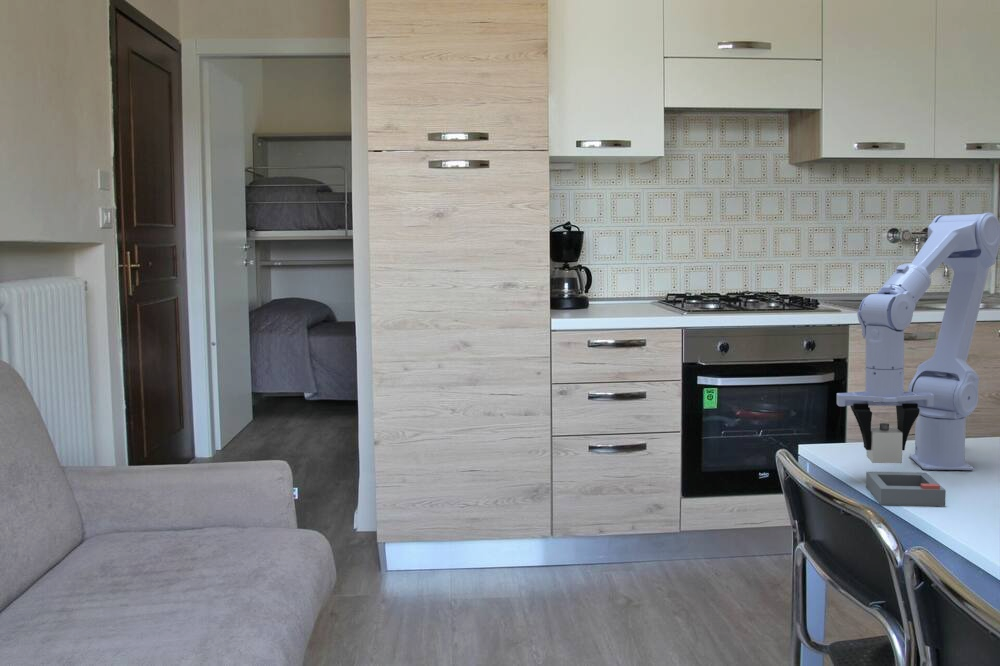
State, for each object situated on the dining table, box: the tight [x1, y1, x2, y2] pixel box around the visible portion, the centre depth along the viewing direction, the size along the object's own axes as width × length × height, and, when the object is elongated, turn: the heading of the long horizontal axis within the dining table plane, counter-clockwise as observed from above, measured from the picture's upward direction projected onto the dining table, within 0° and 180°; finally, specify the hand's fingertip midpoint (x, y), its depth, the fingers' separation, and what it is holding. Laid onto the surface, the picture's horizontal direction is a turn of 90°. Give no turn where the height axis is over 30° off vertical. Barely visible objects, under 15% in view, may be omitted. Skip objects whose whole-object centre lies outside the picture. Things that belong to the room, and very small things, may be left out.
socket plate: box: [865, 471, 947, 507], centre depth 135 cm, size 10×9×3 cm
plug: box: [866, 422, 903, 464], centre depth 143 cm, size 4×4×6 cm
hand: (884, 448), depth 143 cm, fingers closed on plug, 4 cm apart
